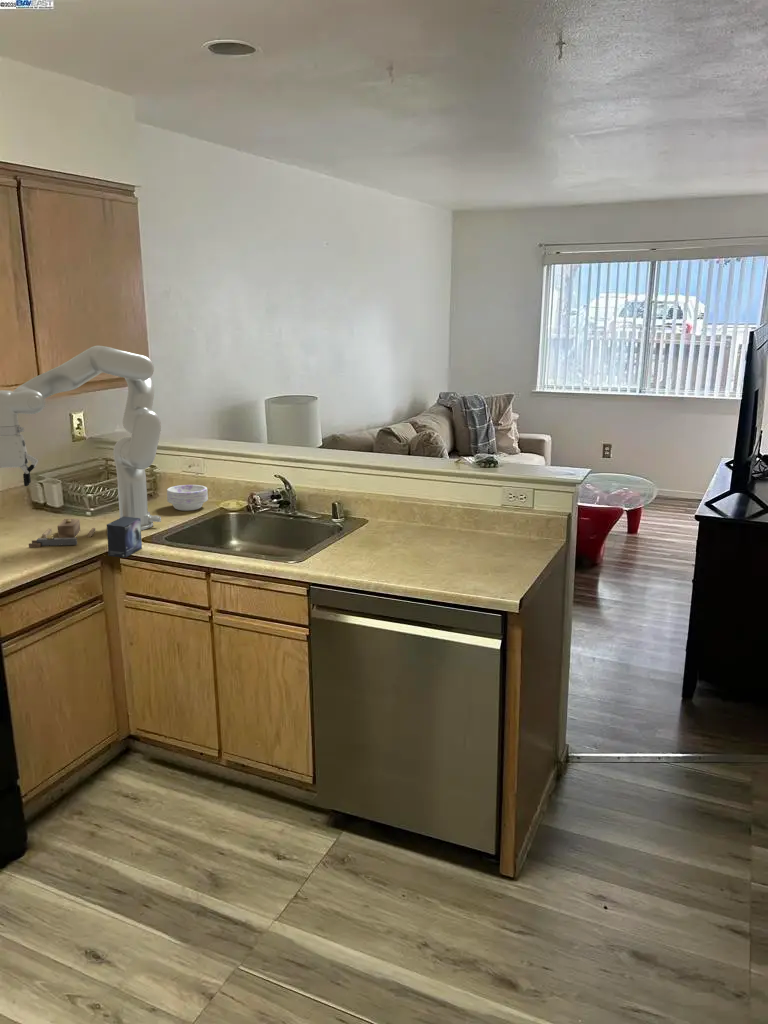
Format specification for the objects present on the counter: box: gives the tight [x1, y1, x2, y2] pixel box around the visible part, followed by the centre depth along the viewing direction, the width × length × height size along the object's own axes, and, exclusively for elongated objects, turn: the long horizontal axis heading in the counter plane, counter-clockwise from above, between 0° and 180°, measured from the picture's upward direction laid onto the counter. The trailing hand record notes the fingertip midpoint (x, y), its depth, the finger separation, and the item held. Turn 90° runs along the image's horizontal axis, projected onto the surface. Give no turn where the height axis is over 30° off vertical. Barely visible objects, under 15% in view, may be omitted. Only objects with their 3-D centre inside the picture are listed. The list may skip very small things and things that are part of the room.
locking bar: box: [36, 533, 78, 547], centre depth 253 cm, size 12×2×3 cm, turn 98°
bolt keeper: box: [28, 539, 41, 548], centre depth 253 cm, size 4×4×1 cm
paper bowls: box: [166, 484, 209, 512], centre depth 302 cm, size 15×15×8 cm
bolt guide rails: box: [42, 527, 97, 538], centre depth 265 cm, size 16×7×1 cm, turn 98°
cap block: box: [57, 518, 81, 538], centre depth 265 cm, size 5×9×5 cm, turn 8°
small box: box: [106, 516, 143, 559], centre depth 247 cm, size 11×6×10 cm, turn 168°
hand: (11, 485), depth 247 cm, fingers open, 8 cm apart
